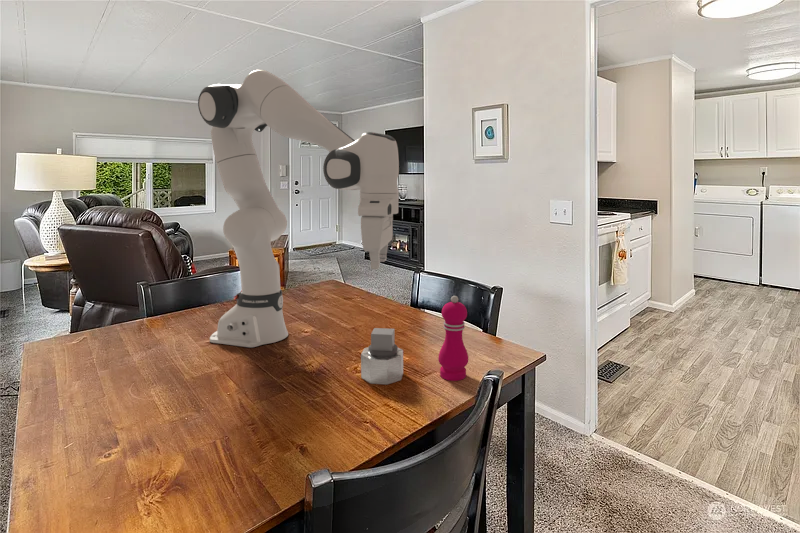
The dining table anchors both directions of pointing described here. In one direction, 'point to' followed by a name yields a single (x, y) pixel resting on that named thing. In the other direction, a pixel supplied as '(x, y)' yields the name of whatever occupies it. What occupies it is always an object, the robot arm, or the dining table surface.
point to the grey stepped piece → (383, 343)
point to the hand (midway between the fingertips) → (379, 264)
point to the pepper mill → (453, 342)
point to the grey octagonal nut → (381, 368)
